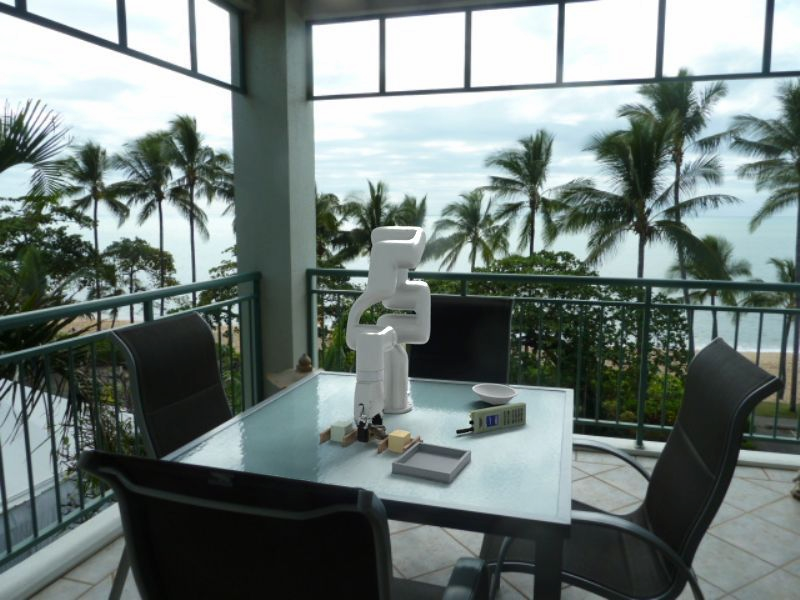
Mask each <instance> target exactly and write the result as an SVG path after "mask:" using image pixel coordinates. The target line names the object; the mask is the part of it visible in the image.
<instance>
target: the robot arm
mask: <svg viewBox="0 0 800 600" xmlns="http://www.w3.org/2000/svg"><path fill="white" fill-rule="evenodd" d="M426 236H427V235H426V232H425V230H424V229H423V228H421V226H393V225H391V226H390V225H389V226H379V227H376V228H374V229H373V230H371V235H370V239H371V244H372V247H371V250H370V258H369V259H370V260H369V267H368V275H367V287H366V290H365V291H364V292H363V293H362V294H361V295H359V296H358V297H357V299H356V300H355V301H354V303H353V304H352V306H351V307H350V310H349V312H348V313H349V314H348V316H347V318H348V319H347V324H346V333H345V341H346V345H347V347H348V348H349V349H350V350H353V351H355V357H356V358H355V361H356V362H355V371H356V372H355V375H356V376H355V378H356V379H355V381H356V382H355V386H354V387H355V388H354V396H353V420H354V424H355V428H356V429H357V439H356V441H358V442H359V443H360V442H361V443H365V444H368V443H369V442H370V441H369V428H367V426H368V423H370V422H369V421H370V419H371V424H374V425H384V421H383V420H384V419H383V418H384V414H396V415H397V414H404V413H408V412H410V411H411V410H413V403H411V402H410V401H409V397H410V396H411V393H412V392H411V391H410V390H409V357H408V353H407V351H406V350H405V348H404V346H403V344H412V345H424V344H426V343H428V341H429V339H430V336H431V306H432V305H431V290H430V286H429V284H428V283H427V282H425V281H421V280H409V278H408V277H409V270H413V269H416V268H417V267H418V266H419V264H420V262H421V259H422V257H423V254H424V252H425V248H426V243H427V237H426ZM380 302H381V304H382V306H383V307H384V308H385V309H387V310H388V309H389V310H395V311H397V310H398V311H414V312H415V314H414V313H413V314H410V313H409V314H408V313H407V314H405V313H386V314H382V315H381V316H379V318H378V319H377V321H376V324H364V323H363V324H362V323H360V319H361V317H362V315H363V313H364V312H365V311H366V310H367V309H369V308H370V307H372V306H374V305H375V304H377V303H380ZM363 420H364V421H363Z"/></svg>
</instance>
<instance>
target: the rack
mask: <svg viewBox="0 0 800 600" xmlns="http://www.w3.org/2000/svg"><path fill="white" fill-rule="evenodd" d="M369 434H370V432H369ZM389 434H390V433H386V438H385V439H384V440H380V441H379V442H378V443H377V454H382V453H383V452H384V451H385V450H386V449H387V450H388V435H389ZM329 439H331V426H330V427H329V428H327V429H325V430H323V431H322V432H320V433H319V442H320V443H324V442H326V441H327V440H329ZM355 441H357V428H353V427H352V432H351V433H349V434H347V435H346V436H344V437H343V442H342V447H344V448H346V447H347V446H349V445H350V444H352V443H353V442H355ZM417 442H423V443H424V439H421V436H420V435H417V436H416V437H415V438H414V437H413V438H412V437H410V443H408V444H407V445H406V446H405V447H404V448H403V453H405V452H406V451H407V450H408V449H409V448H411V447H412V446H413V445H414V444H416V443H417ZM403 453H402V454H403Z"/></svg>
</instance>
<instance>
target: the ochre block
mask: <svg viewBox="0 0 800 600" xmlns="http://www.w3.org/2000/svg"><path fill="white" fill-rule="evenodd" d="M388 434H389V435H388V448H387V450H388V451H389V452H395V453H401V454H403V448H404V447H405V446H406V445H407V444H408V443H410V438H411V431H406V430H400V429H394V430H393V431H391V432H390V433H388Z"/></svg>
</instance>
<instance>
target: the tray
mask: <svg viewBox="0 0 800 600" xmlns="http://www.w3.org/2000/svg"><path fill="white" fill-rule="evenodd" d="M471 461H472V450H469V449H464V448H457V447H451V446H445V445H440V444H435V443H434V444H433V443H427V442H424V441H423V442H417V443H416V444H414V445H413V446H412V447H411V448H409V449H408V450H407V451H406V452H405V453H401V455H400V456H399V457H397V458H396V459H395V460H394V461H392V463H391V474H392V473H393V474H397V475H402V476H406V477H411V478H412V477H413V478H416V479H417V478H418V479H422V480H427V481H432V482H438V483H442V484H447V485H451V483H452V482H453V481H454V480H455V479H456V477H457V476H458V475H459V474H460V473H461V472H462V471H463V470H464V469H465V467H466V466H468V464H469V463H470V462H471Z"/></svg>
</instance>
